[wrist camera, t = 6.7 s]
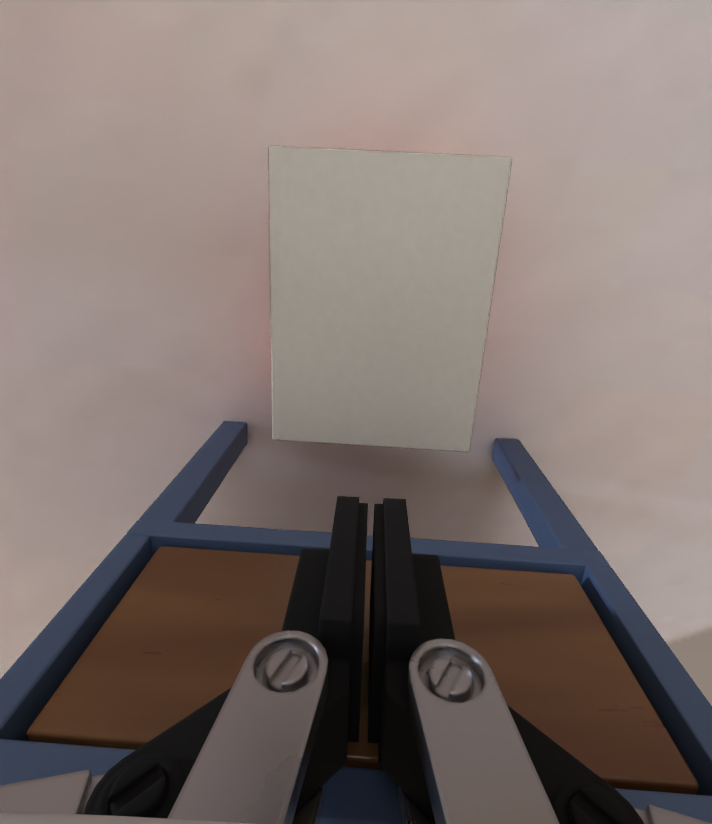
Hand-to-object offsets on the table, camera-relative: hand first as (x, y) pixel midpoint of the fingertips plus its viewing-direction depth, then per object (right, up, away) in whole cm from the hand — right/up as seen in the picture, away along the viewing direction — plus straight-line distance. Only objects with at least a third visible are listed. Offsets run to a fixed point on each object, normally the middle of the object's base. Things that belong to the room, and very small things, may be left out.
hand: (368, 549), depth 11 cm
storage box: (+1, +9, +10) cm, 13 cm away
